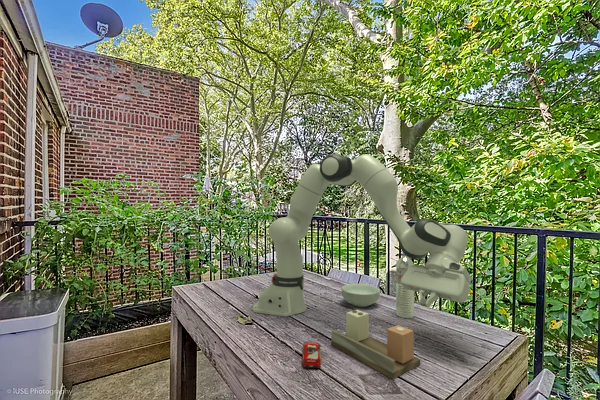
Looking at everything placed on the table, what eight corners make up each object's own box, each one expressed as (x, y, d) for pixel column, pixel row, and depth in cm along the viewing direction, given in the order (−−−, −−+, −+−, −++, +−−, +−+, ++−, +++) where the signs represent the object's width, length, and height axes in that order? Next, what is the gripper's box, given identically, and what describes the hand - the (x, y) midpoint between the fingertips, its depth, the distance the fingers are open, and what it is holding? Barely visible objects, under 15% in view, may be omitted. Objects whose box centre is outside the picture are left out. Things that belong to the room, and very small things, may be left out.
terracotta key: (398, 351, 87) (398, 323, 87) (413, 358, 83) (413, 329, 83) (387, 356, 84) (387, 327, 84) (402, 363, 80) (402, 334, 80)
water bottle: (415, 319, 116) (415, 254, 117) (397, 318, 117) (397, 254, 118) (412, 313, 123) (412, 252, 123) (395, 312, 124) (395, 251, 125)
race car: (303, 347, 93) (303, 334, 93) (320, 348, 93) (321, 335, 93) (300, 370, 80) (300, 355, 80) (320, 371, 80) (321, 356, 80)
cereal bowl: (334, 301, 139) (334, 285, 139) (364, 296, 146) (364, 282, 146) (355, 312, 123) (355, 295, 124) (387, 307, 130) (387, 291, 130)
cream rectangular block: (357, 332, 100) (357, 308, 100) (368, 337, 96) (368, 312, 96) (346, 336, 97) (346, 311, 97) (357, 341, 93) (357, 316, 93)
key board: (357, 335, 101) (358, 322, 102) (420, 364, 83) (420, 348, 83) (331, 345, 94) (331, 330, 94) (392, 379, 76) (392, 361, 76)
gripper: (407, 257, 103) (389, 291, 97) (469, 267, 87) (453, 308, 81) (415, 269, 106) (398, 302, 100) (477, 280, 89) (461, 321, 83)
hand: (423, 305), depth 90 cm, fingers closed
